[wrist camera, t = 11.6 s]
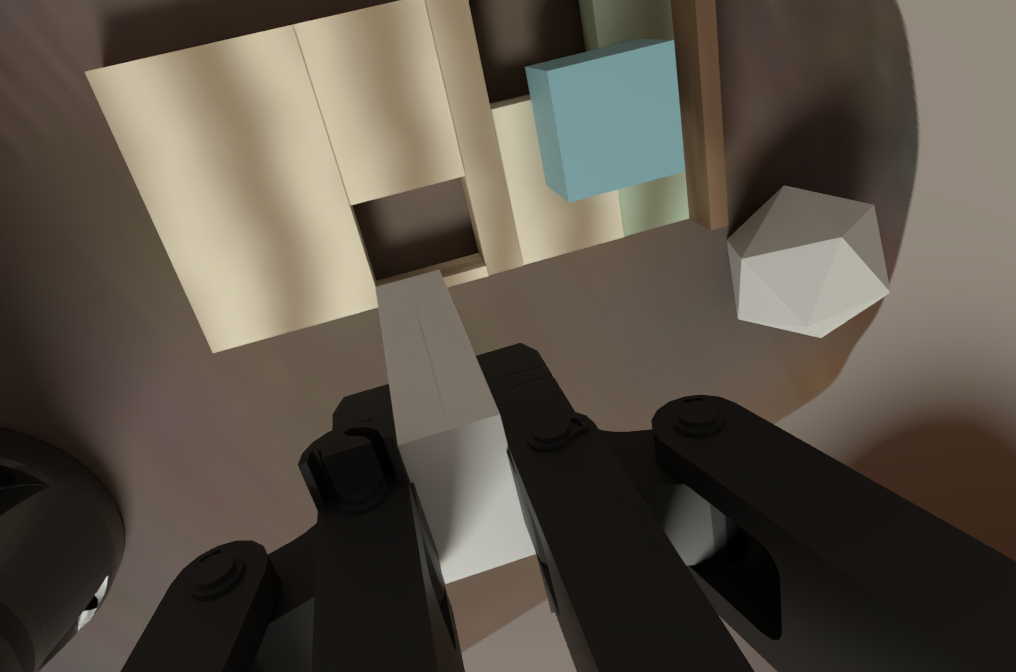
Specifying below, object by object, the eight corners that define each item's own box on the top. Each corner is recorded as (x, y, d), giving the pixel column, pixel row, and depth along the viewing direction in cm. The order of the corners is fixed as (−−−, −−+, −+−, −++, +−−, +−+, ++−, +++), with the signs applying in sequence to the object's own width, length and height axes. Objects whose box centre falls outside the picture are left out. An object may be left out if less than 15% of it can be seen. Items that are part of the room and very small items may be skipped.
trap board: (220, 334, 38) (205, 372, 33) (102, 68, 31) (66, 75, 27) (688, 205, 41) (728, 225, 36) (666, -60, 34) (711, -72, 30)
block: (546, 185, 36) (568, 202, 32) (524, 66, 33) (547, 71, 30) (651, 157, 37) (685, 171, 33) (638, 39, 34) (674, 39, 30)
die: (705, 323, 45) (854, 382, 40) (682, 259, 38) (859, 322, 33) (762, 223, 46) (914, 268, 41) (750, 143, 39) (932, 186, 34)
